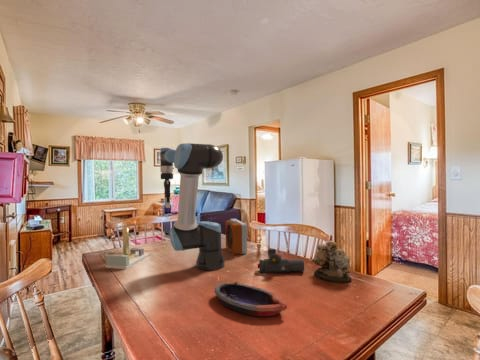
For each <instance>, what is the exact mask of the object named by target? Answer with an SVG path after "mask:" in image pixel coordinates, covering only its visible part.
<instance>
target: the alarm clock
mask: <svg viewBox="0 0 480 360" xmlns="http://www.w3.org/2000/svg"><path fill="white" fill-rule="evenodd" d="M247 233H248V231H247V224H246V223H244V222H243V221H241V220H239V219H237V218H230V219H227V220H225V248H226V249H227V250H228V251H229V253H231V255H232V256H236V255H245V254H247V252H248V247H247V246H248V243H247V242H248V241H247V238H248V236H247V235H248V234H247Z"/></svg>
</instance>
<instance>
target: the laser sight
mask: <svg viewBox="0 0 480 360" xmlns="http://www.w3.org/2000/svg"><path fill="white" fill-rule="evenodd" d="M267 252H268V253H267V254H268V258H264V259H259V260H258V262H259V263H257V269H259V273H265V274H268V273H269V274H270V273H271V274H273V273H274V274H277V273H280V274H281V273H283V274H285V273H289V272H305V261H304V259H288V258H282V257H281V255H279V254H278V253H277V254H276V252H277V251H276V248H275V249H274V248H273V249H272V248H271V249H267Z"/></svg>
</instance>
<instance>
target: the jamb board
mask: <svg viewBox="0 0 480 360" xmlns="http://www.w3.org/2000/svg"><path fill="white" fill-rule="evenodd" d="M137 252H138V253H137ZM130 253H135V257H134V258H132V259H130V260H129V255H123V254H117V253H115V254H113V253H112V254H111V253H108V254H105V268H106V269H117V270H118V269H119V270H121V269H122V270H127V269H128V270H129V268H132V267H133V266H135V265H136V264H138V263H140V262H142V261H144V260H145V259H147V258H149V257H150V253H145V249H144V248H141V247H139V248H138V247H133V248H131V249H130V248H129V254H130Z"/></svg>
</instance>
